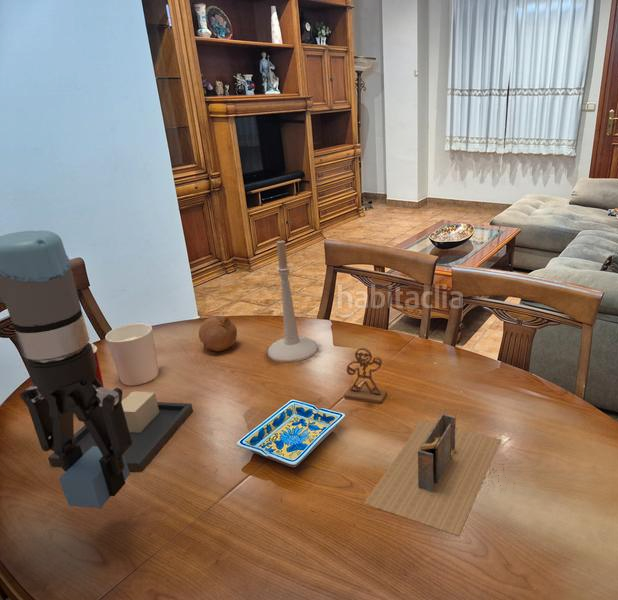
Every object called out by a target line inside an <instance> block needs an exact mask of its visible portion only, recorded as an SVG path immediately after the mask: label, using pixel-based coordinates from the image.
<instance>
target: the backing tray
mask: <svg viewBox="0 0 618 600" xmlns="http://www.w3.org/2000/svg"><path fill="white" fill-rule="evenodd" d="M123 400H124V399H122V401H123ZM157 404H158V408H159V414H158V415H157V416H156V417H155V418H154V419H153V420H152V421H151V422H150V423H149V424H148V425H147V426H146V427H145V428H144V429H143V430H142V432H141V433H136V432H130V436H131V440H132V445H131V446H130V448H129V449H128V450H127V451H126V452H125V453H124V454H125V458H126V462H127V466H128V469H129V472H143V470H144V469H145V468H146V467H147V466H148V465H149V464H150V462H151V461H152V460H153V459H154V457H156V455H157V454H158V453H159V452H160V451H161V449H162V448H163V447H164V446H165V445H166V444H167V442H168V441H169V440H170V439H171V438H172V436H173V435H174V434H175V433H176V432H177V430H179V428H180V427H181V426H182V425H183V423H184V422H185V421H186V420H187V419H188V417H189V416H190V415H191V414H192V412H194V409H193V404H192V403H183V402H164V401H163V402H162V401H157ZM74 439H76V440H77V442H76V443H74V444H73V445H72V448H73V447H74V446H75V445H79V446H80V447H81V450H82V453H83V455H84V454H85V453H86V452H87V451H88V450H89V449H90V448H91V447H92V446H97V445H96V443H95V441H94V439H93V438H92V436H91V434H90V432H89V431H88V429H87V427H86V425H85V424H84V425H83V426H82V427H81V428H80V429H78V430H77V431H76V432H74ZM76 440H75V441H76ZM97 447H98V446H97ZM47 459H48V462H49V465H50V466H51V467H52V466H53V467H62V465H61V462H60V459H59V456H57V455H56V454H55V453H54V452H52V453H51V454H50V455H49V456H48V457H47Z"/></svg>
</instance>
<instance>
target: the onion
mask: <svg viewBox="0 0 618 600" xmlns="http://www.w3.org/2000/svg"><path fill="white" fill-rule="evenodd" d="M237 337H238V329H237V327H236V325H235V324H234V322H233V321H232V320H231V319H230V318H228V317H224V316H219V315H217V316H216V315H214V316H211V317H208V318H206V319H204V321H203V322H201V325H200V327H199V330H198V338H199V341H200V343H202V344H203V347H204V348H206V349H208V350H210V351H213V352H216V353H218V352H222V351H225V350H227V349H229V348H230V347H232V346H233V345H234V343H235V342H236V339H237Z"/></svg>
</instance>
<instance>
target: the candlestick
mask: <svg viewBox="0 0 618 600" xmlns="http://www.w3.org/2000/svg"><path fill="white" fill-rule="evenodd" d="M275 243H276V251H277V261H278V266H277V267H276V268H275V270H276V271H278V276H279V277H280V279H281V281H280V286H281V287H280V289H281V301H282V303H281V304H282V318H283V336H284V337H283V338H280V339H277V341H274V342H273V343H272V344H271V345H270V346H269V347H268V348H267V356H268V357H269V358H270V359H271V360H273V361H275V362H279V363H296V362H301V361H304V360H308V359H309V358H311V357H313V356H314V355H315V354H316V353H317V352H318V349H319V347H318V346H319V345H318V343H317V342H316V340H314V339H312V338H309V337H307V336H303V335H302V336H301V335H300V336H299V331H298V325H297V320H296V314H295V307H294V301H293V296H292V291H291V284H290V280H289V275H290V273H291V272H290V269H292V266H290V265H288V259H287V250H286V242H285V240H282V239H280V240H277V241H276V242H275Z"/></svg>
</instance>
